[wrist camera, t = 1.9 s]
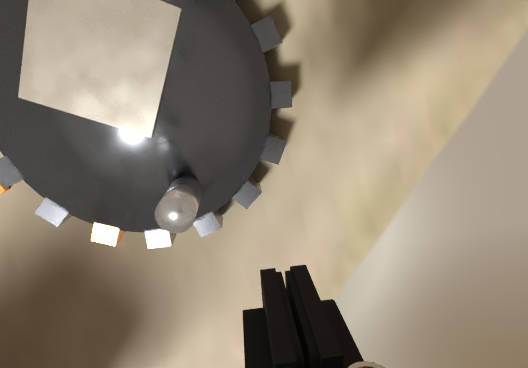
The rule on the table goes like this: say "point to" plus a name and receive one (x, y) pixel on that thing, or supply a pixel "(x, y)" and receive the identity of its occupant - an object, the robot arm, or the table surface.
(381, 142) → the table surface
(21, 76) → the sprocket
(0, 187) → the block
